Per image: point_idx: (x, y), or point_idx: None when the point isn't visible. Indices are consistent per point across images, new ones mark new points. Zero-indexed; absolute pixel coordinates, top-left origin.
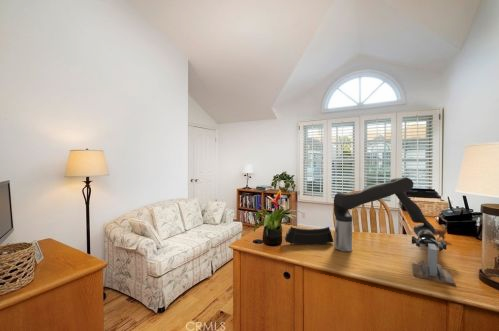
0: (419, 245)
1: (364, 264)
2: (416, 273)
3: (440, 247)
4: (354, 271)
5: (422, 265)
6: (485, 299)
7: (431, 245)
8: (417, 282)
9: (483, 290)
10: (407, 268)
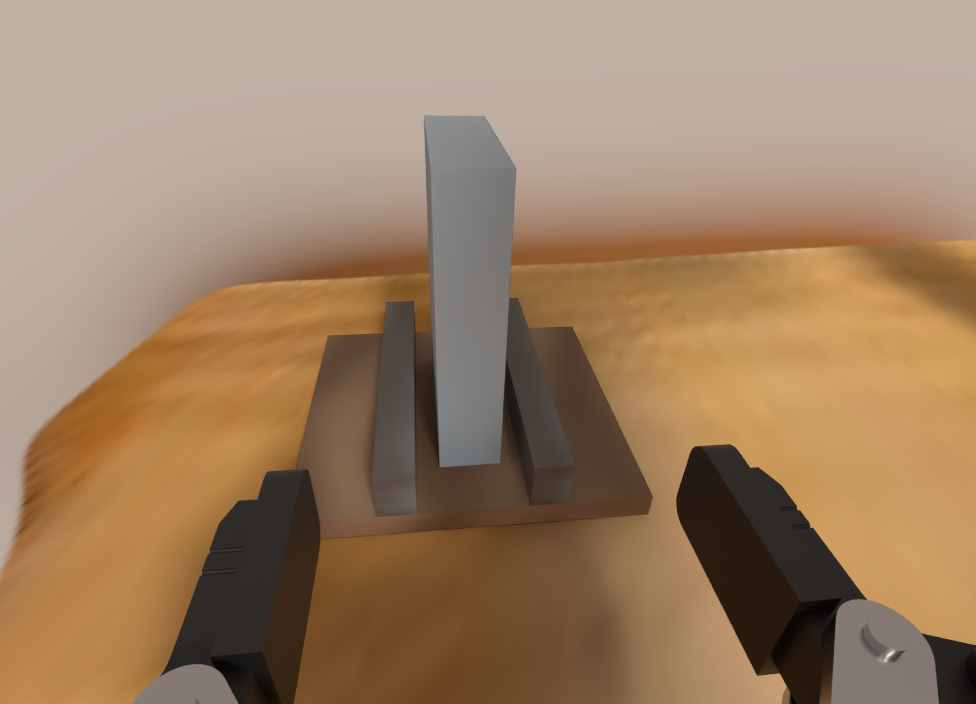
0: (687, 475)
1: (874, 329)
2: (559, 338)
3: (292, 472)
4: (817, 261)
5: (539, 372)
6: (218, 310)
7: (473, 146)
8: (535, 300)
9: (151, 384)
10: (647, 417)
